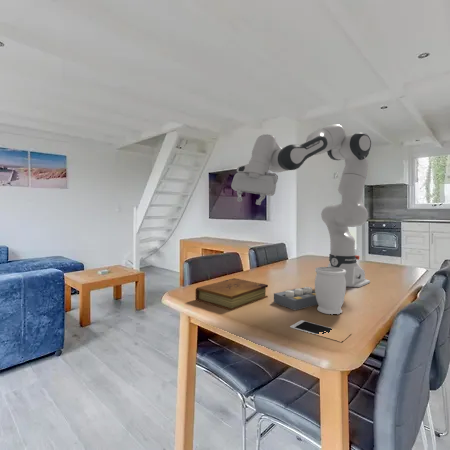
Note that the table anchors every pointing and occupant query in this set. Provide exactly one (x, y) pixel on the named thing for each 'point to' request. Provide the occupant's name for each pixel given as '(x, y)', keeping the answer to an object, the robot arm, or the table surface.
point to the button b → (308, 290)
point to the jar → (330, 289)
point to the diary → (231, 293)
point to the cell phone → (310, 327)
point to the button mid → (299, 292)
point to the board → (296, 300)
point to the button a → (289, 294)
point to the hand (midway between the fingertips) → (248, 202)
